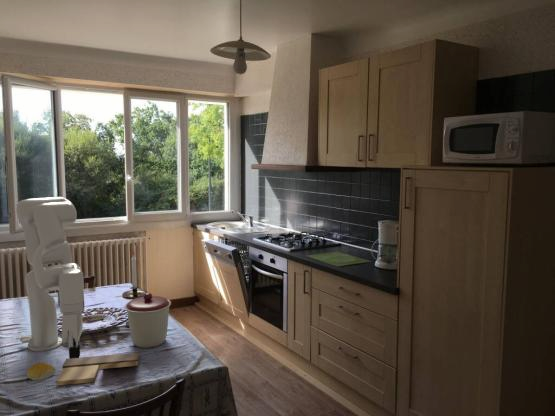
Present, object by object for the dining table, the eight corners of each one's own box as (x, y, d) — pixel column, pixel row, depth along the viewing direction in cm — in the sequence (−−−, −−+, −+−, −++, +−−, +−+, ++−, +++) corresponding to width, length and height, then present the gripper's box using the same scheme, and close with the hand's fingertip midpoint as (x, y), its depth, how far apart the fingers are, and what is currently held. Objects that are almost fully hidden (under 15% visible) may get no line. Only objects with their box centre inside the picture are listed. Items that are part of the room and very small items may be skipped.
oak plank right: (98, 369, 160) (99, 364, 160) (103, 368, 169) (103, 364, 170) (135, 365, 162) (135, 361, 163) (137, 365, 172) (137, 361, 172)
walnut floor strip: (62, 371, 167) (62, 366, 167) (66, 363, 173) (66, 358, 173) (138, 364, 173) (137, 359, 172) (139, 357, 178) (139, 352, 178)
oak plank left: (56, 385, 157) (56, 381, 156) (63, 372, 166) (63, 368, 166) (94, 381, 159) (94, 377, 159) (99, 368, 169) (98, 364, 169)
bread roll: (44, 367, 170) (43, 357, 170) (58, 374, 166) (58, 363, 165) (21, 376, 164) (20, 366, 163) (36, 384, 159) (35, 372, 158)
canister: (160, 354, 181) (159, 301, 178) (117, 350, 184) (115, 299, 182) (178, 335, 199) (177, 287, 196) (139, 332, 202) (137, 285, 199)
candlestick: (125, 330, 204) (121, 252, 200) (122, 321, 214) (119, 247, 209) (150, 326, 209) (147, 249, 204) (146, 318, 219) (143, 245, 214)
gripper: (65, 298, 163) (67, 348, 166) (54, 315, 148) (57, 368, 151) (88, 297, 164) (90, 346, 167) (79, 313, 150) (82, 367, 153)
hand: (74, 357), depth 159 cm, fingers closed
